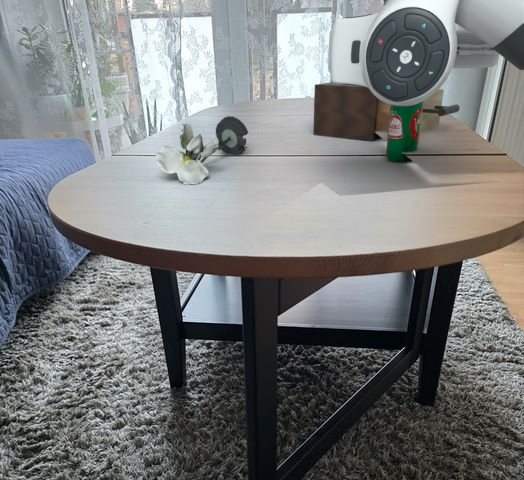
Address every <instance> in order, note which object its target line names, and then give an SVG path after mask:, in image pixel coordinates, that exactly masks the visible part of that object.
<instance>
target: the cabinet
mask: <svg viewBox="0 0 524 480" xmlns="http://www.w3.org/2000/svg"><path fill="white" fill-rule="evenodd" d="M313 97H314V100H313V128H312V129H313V133H312V134H313V136H320V137H328V138H329V137H330V138H337V139H347V140H354V141H355V140H357V141H363V142H371V143H372V142H376V141H380V140H383V139H384V138H383V137H382V136H380V135H379V134H378V133H377V131H376V121H377V109H378V98H377V97H376V96H375V95H374V94H373V93H372V92H371V91H370V89H369V88H368V87H361V86H354V85H343V84H337V83H333V82H332V81H331V82H330V81H329V82H324V83H317V84H314V96H313ZM375 133H376V134H375Z"/></svg>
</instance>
